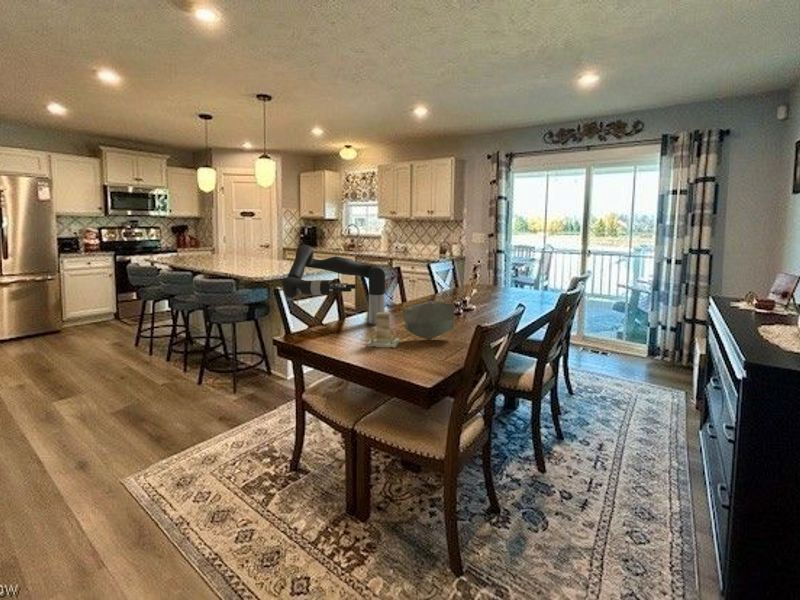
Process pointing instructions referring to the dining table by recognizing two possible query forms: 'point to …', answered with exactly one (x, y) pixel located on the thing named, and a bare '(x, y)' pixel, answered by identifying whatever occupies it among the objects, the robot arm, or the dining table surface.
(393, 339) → the peg board
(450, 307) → the rock
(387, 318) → the tan wooden block
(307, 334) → the dining table surface
